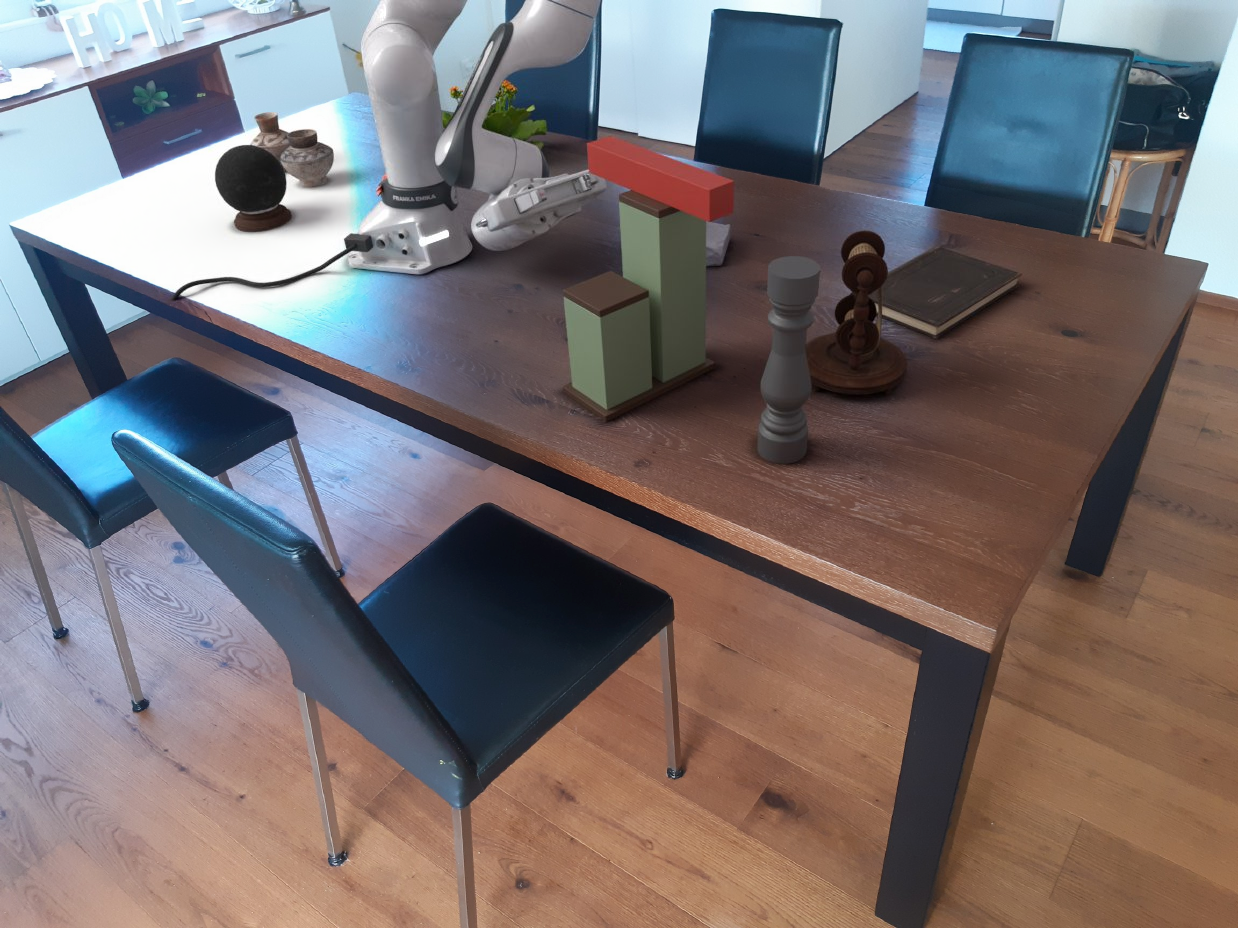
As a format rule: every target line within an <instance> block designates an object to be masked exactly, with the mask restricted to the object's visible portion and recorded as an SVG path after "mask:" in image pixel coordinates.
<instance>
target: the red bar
mask: <svg viewBox="0 0 1238 928" xmlns="http://www.w3.org/2000/svg"><path fill="white" fill-rule="evenodd" d="M586 150H587V163H588V164H587V165H588V169H589V173H591V174H594V175H596V176H599V177H601V178H603V179H605V181H608V182H611V183H612V184H616V185H618V186H620V187H623V188H626V189H628V190H629V191H630V190H632V191H635V192H637V193H640V194H642V195H645V196H647V197H649V198H652V199H654V200H657V201H659V202H661V203H664V204H666V205H669V206H671V207H674V208H676V209H678V210H681V211H683V212H686V213H688V214H691V215H693V216H695V217H698V218H700V219H703V220H705V221H706V222H712V223H713V222H714V221H716V220H719V219H722V218H724V217H727V216H729V215H732V214H734V209H735V180H733V179H730V178H727V177H724V176H723V175H719V174H716V173H714V172H711V171H708V170H705V169H704V168H703V169H702V168H701V167H700V168H699V167H697V166H694V165H691V164H689V163H686V162H683V161H681V160H677V159H676V158H672V157H669V156H668V155H664V154H661V153H658V152H656V151H653V150H650V149H647V148H644V147H642V146H640V145H639V146H638V145H636V144H633V143H631V142H628V141H625V140H622V139H620V138H616V137H614V136H611V135H610V136H606V137H603V138H600V139H596V140H593V141H589V142H587V143H586Z"/></svg>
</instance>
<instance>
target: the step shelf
mask: <svg viewBox="0 0 1238 928" xmlns="http://www.w3.org/2000/svg"><path fill="white" fill-rule="evenodd" d="M618 207H619V209H618V210H619V225H620V226H619V228H620V245H621V263H622V276H621V275H620V274H618V273H616V272H614V271H612V270H608V271H606V272H604V273H601V274H599V275H596V276H594V277H592V278H588V279H586V280H584V281H582V282H581V281H580V282H579V283H577V284H573V285H571V286H568V287H566V288H564V289H562V296H563V297H562V298H563V306H564V317H565V326H566V336H567V349H568V357H569V368H570V376H571V378H570V379H571V382H569V383H567V384H565V385H562V393H563V394H565V395H566V396H567V397H570V398H571V399H572V400H573V401H575V402H577V403H578V404H579V405H580V406H582V407H583V408H585V409H586V410H587V411H590V413H592V414H594V415H595V416H596V417H598V418H599V419H601V420H603V421H604V422H605V423H607V422H609V421H611V420H614V419H615V418H618V417H620V416H621V415H623V414H625V413H627V412H629V411H632V410H634V409H636V408H638V407H639V406H641V405H643V404H646V403H648V402H651V401H652V400H653V399H656V398H658V397H660V396H662V395H664V394H666V393H668V392H670V391H672V390H674V389H676V388H678V387H680V386H682V385H684V384H686V383H688V382H691V381H693V380H694V379H696V378H698V377H700V376H702V375H704V374H707V373H709V372H710V371H713V370H714V369H716V362H715V361H714V360H712V359H710V358H708V357H707V356H706V352H707V351H706V350H707V349H706V348H707V347H706V346H707V345H706V344H707V341H706V340H707V339H706V338H707V337H706V335H707V334H706V333H707V330H706V329H707V328H706V327H707V325H706V324H707V310H706V309H707V266H706V222H707V221H705V220H703V219H700V218H698V217H695V216H693V215H691V214H688V213H686V212H683V211H681V210H678V209H676V208H674V207H671V206H669V205H666V204H664V203H661V202H659V201H657V200H654V199H652V198H649V197H647V196H645V195H642V194H640V193H637V192H635V191H632V190H630V189H629V190H627V191H624V192H621V193H619V194H618Z"/></svg>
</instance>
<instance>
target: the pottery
mask: <svg viewBox="0 0 1238 928" xmlns="http://www.w3.org/2000/svg"><path fill="white" fill-rule="evenodd" d="M253 118H254V121H255V122H256V124H257V126H258V129H259V133H258V134H257V135H256V136H255V137H254V138H253V139H252V140H251V142H250V145H254V146H258V147H261V148H263V149H265V150H267V151H268V152H270V153H271V154H273V155H274V156H275V157H276V159H277V160H278V161H279V162H280V164H281V165H282V167H283V169H284V172H287V173H288V174H290V176H292V177H294V178H295V179H297V180H299V184H300V186H302V187H305V188H311V187H317V186H321V185H323V184H326V183H327V182H328V176H327V175H328V174H329V172H330V171H331V169H332V167H333V164H334V161H335V159H334V158H335V154H334V150H333V148H332V147H331V146H330V145H327V144H325V143H323V142H320V141H318V132H317V130H315V129H311V128H303V129H297V130H292V131H290V132H288V131H286V130H284V129H281V128H280V125H279V115H278V113H277V112H273V111H271V112H268V111H267V112H262V113H258V114H257V115H256V114H255V116H253Z"/></svg>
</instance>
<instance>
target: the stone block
mask: <svg viewBox="0 0 1238 928" xmlns="http://www.w3.org/2000/svg"><path fill="white" fill-rule="evenodd" d="M730 240H731V225H730V224H729V223H728V224H721V223H719V222H713V221H712V222H707V221H706V267H720V266H722V265H723V263H724V259H725V256H726V253H727V250H728V246H729V243H730Z"/></svg>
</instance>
